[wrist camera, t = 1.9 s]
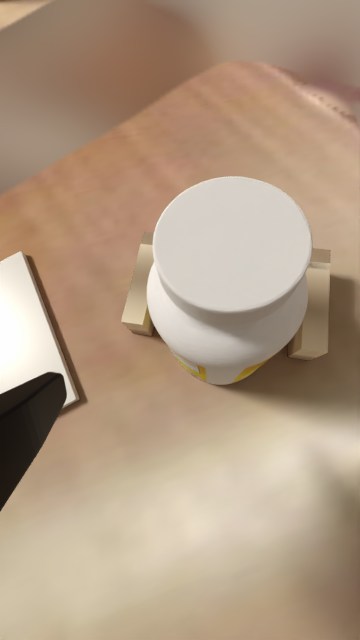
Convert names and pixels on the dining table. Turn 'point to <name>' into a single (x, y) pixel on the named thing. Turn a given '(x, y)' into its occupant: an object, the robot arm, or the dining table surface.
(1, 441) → the robot arm
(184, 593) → the dining table surface
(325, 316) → the bottle cradle
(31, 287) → the white mat
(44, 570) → the dining table surface
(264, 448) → the dining table surface
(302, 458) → the dining table surface
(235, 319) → the supplement bottle
